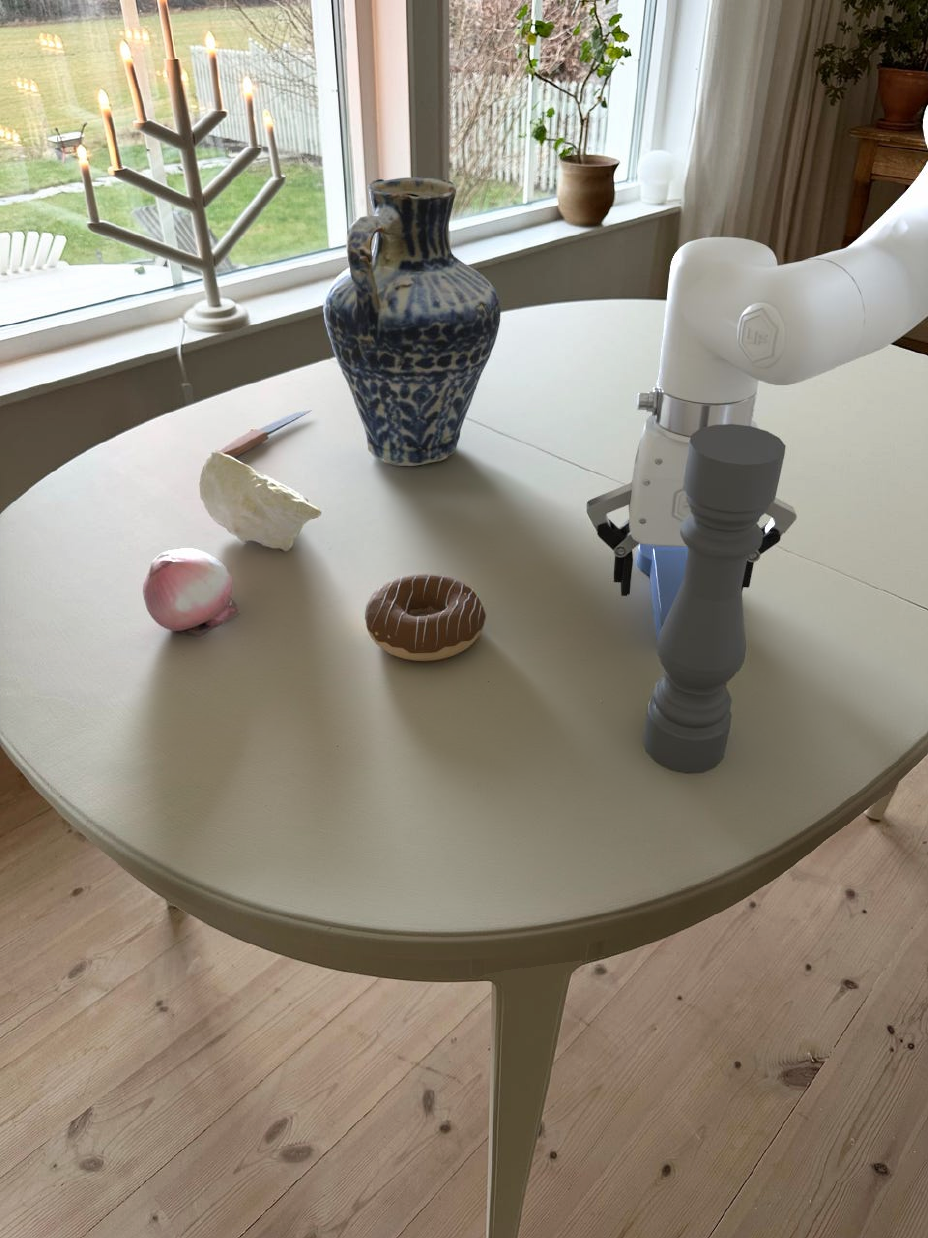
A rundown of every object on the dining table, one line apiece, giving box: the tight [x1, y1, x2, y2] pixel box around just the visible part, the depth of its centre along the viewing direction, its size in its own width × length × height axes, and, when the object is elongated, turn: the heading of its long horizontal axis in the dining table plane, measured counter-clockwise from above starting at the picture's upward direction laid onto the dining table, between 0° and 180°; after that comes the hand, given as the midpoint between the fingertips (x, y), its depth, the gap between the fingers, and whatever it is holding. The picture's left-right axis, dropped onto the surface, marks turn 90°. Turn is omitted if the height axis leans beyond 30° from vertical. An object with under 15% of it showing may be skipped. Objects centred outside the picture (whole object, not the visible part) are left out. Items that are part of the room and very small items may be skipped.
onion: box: [142, 547, 241, 637], centre depth 82 cm, size 8×8×7 cm
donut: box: [364, 573, 487, 662], centre depth 81 cm, size 11×11×4 cm
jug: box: [323, 176, 502, 467], centre depth 103 cm, size 21×19×30 cm
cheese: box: [198, 450, 322, 552], centre depth 94 cm, size 15×7×15 cm
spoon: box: [636, 543, 688, 642], centre depth 85 cm, size 17×5×3 cm, turn 174°
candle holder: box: [642, 424, 787, 774], centre depth 63 cm, size 6×6×25 cm
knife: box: [210, 410, 313, 458], centre depth 115 cm, size 17×1×3 cm
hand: (678, 589), depth 82 cm, fingers open, 9 cm apart
